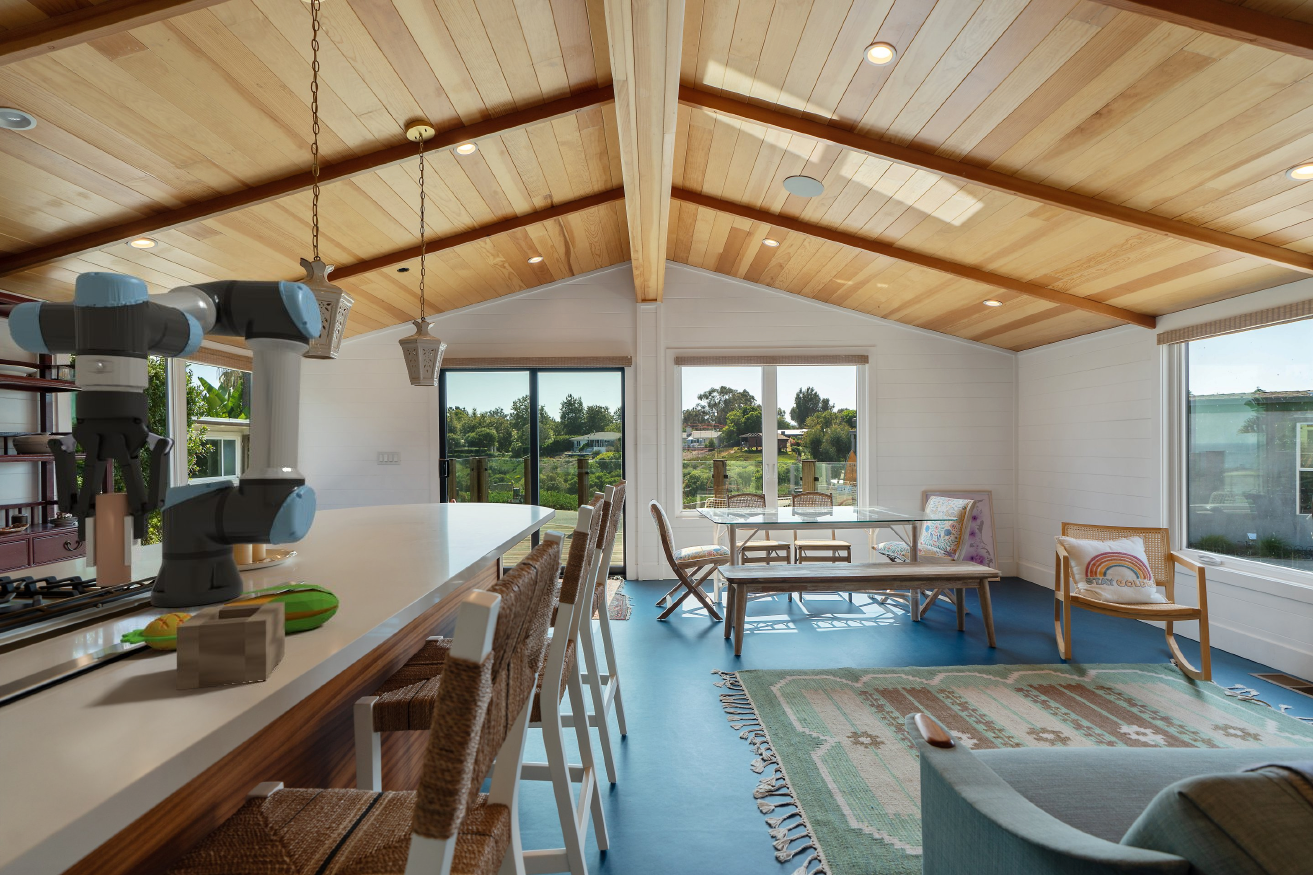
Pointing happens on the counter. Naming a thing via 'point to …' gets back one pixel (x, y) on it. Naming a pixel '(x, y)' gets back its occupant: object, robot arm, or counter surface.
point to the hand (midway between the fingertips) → (114, 563)
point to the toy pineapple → (158, 632)
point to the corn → (299, 605)
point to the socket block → (230, 645)
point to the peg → (111, 539)
